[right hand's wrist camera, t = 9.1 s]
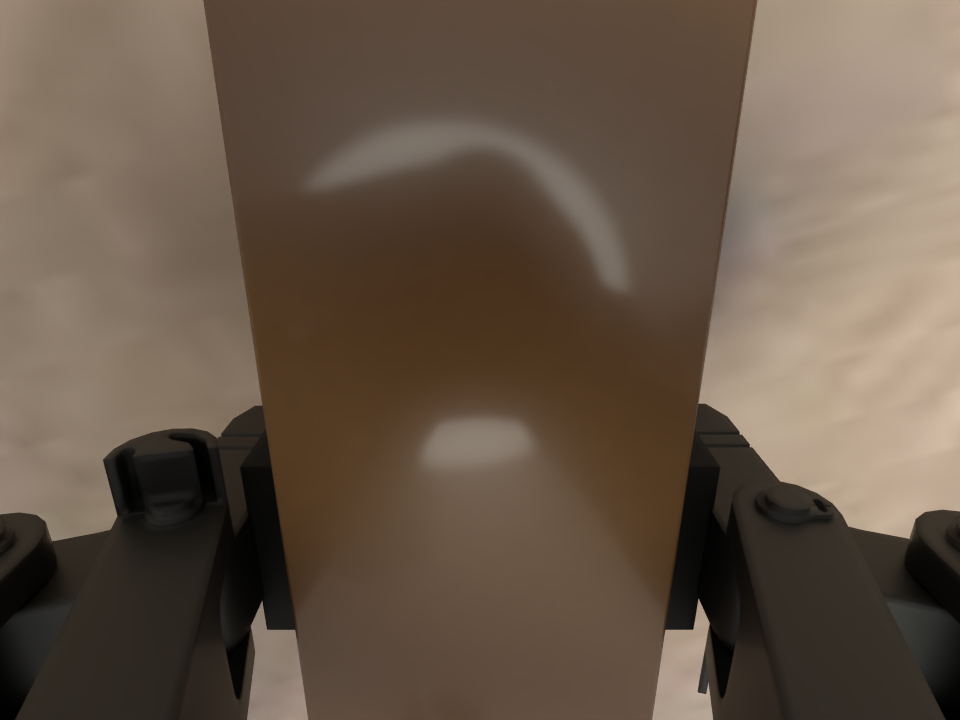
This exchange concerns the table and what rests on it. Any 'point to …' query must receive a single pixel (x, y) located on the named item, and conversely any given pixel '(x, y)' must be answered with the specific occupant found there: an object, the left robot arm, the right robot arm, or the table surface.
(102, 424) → the table surface
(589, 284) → the bar
